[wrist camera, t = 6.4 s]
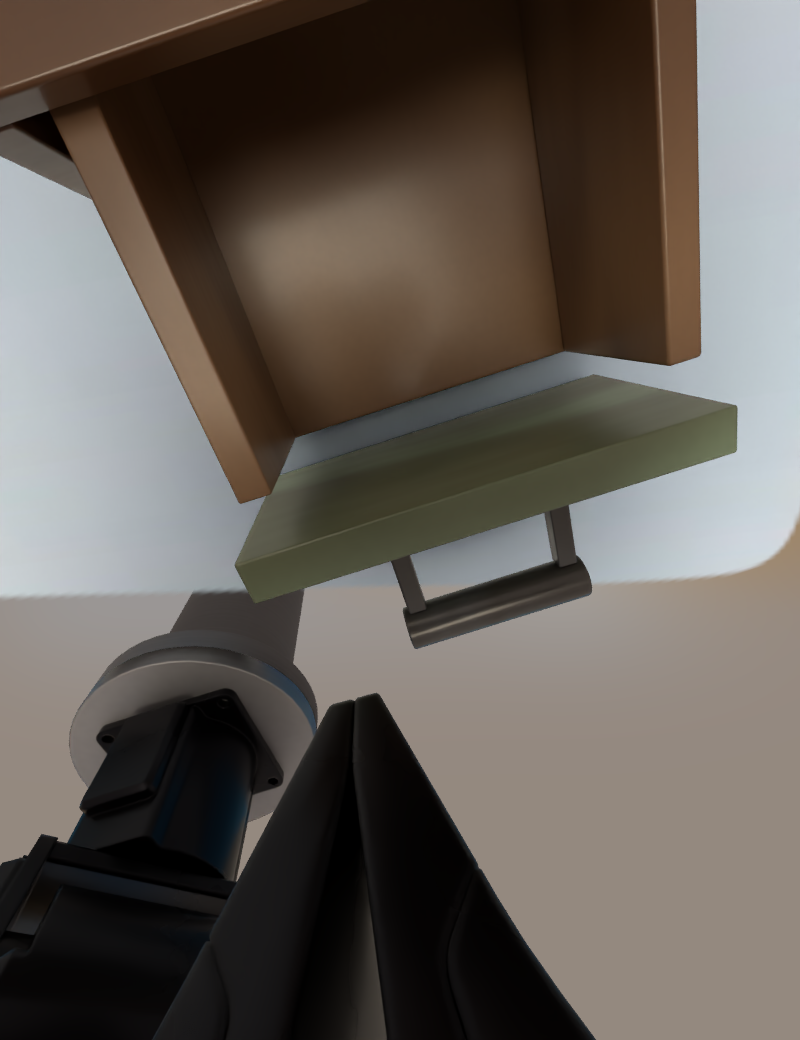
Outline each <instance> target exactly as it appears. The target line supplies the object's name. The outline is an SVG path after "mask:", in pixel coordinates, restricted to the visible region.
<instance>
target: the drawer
mask: <svg viewBox="0 0 800 1040" xmlns="http://www.w3.org/2000/svg"><path fill="white" fill-rule="evenodd" d="M49 112H50V114H51V116H52V118H53V120H54V122H55V124H56V126H57V128H58V130H59V132H60V134H61V136H62V138H63V141H64V143H65V145H66V147H67V149H68V151H69V153H70V155H71V157H72V159H73V161H74V163H75V165H76V167H77V169H78V172H79V174H80V176H81V178H82V180H83V182H84V184H85V186H86V188H87V190H88V192H89V194H90V196H91V198H92V200H93V202H94V205H95V207H96V209H97V211H98V213H99V215H100V217H101V219H102V221H103V223H104V225H105V227H106V229H107V231H108V233H109V236H110V238H111V240H112V242H113V244H114V246H115V248H116V250H117V252H118V254H119V256H120V258H121V260H122V262H123V264H124V266H125V269H126V271H127V273H128V275H129V277H130V279H131V281H132V283H133V285H134V287H135V289H136V291H137V293H138V295H139V297H140V300H141V302H142V304H143V306H144V308H145V310H146V312H147V314H148V316H149V318H150V320H151V322H152V324H153V326H154V328H155V330H156V333H157V335H158V337H159V339H160V341H161V343H162V345H163V347H164V349H165V351H166V353H167V355H168V357H169V359H170V361H171V363H172V366H173V368H174V370H175V372H176V374H177V376H178V378H179V380H180V382H181V384H182V386H183V388H184V390H185V392H186V394H187V397H188V399H189V401H190V403H191V405H192V407H193V409H194V411H195V413H196V415H197V417H198V419H199V421H200V423H201V425H202V427H203V430H204V432H205V434H206V436H207V438H208V440H209V442H210V444H211V446H212V448H213V450H214V452H215V454H216V456H217V458H218V461H219V463H220V465H221V467H222V469H223V471H224V473H225V475H226V477H227V479H228V481H229V483H230V485H231V487H232V489H233V491H234V494H235V496H236V498H237V500H238V502H239V503H240V504H242V503H245V502H248V501H251V500H254V499H258V498H261V497H264V496H266V497H265V499H264V502H263V504H262V506H261V508H260V510H259V513H258V515H257V517H256V519H255V521H254V524H253V526H252V528H251V530H250V532H249V535H248V537H247V539H246V541H245V543H244V545H243V548H242V550H241V552H240V554H239V556H238V559H237V561H236V563H235V568H236V570H237V571H238V573H239V575H240V577H241V579H242V581H243V583H244V585H245V587H246V589H247V591H248V593H249V594H250V596H251V598H252V600H253V602H254V603H259V602H262V601H266V600H269V599H272V598H275V597H278V596H281V595H285V594H288V593H291V592H294V591H297V590H300V589H304V588H307V587H310V586H313V585H316V584H319V583H323V582H326V581H329V580H332V579H335V578H338V577H342V576H345V575H348V574H351V573H354V572H357V571H361V570H364V569H367V568H370V567H373V566H376V565H380V564H383V563H386V562H389V561H391V563H392V566H393V569H394V571H395V574H396V577H397V580H398V583H399V586H400V588H401V591H402V594H403V597H404V600H405V602H406V606H407V607H405V608H403V614H404V618H405V622H406V626H407V629H408V632H409V636H410V638H411V641H412V644H413V646H414V648H415V649H418V648H421V647H425V646H428V645H431V644H434V643H437V642H440V641H444V640H447V639H450V638H454V637H457V636H460V635H463V634H466V633H470V632H473V631H476V630H479V629H482V628H486V627H489V626H492V625H495V624H499V623H501V622H505V621H508V620H511V619H515V618H518V617H521V616H524V615H527V614H530V613H534V612H537V611H540V610H543V609H547V608H550V607H553V606H556V605H560V604H563V603H566V602H569V601H572V600H576V599H579V598H582V597H585V596H589V595H590V594H591V593H592V584H591V579H590V576H589V573H588V571H587V569H586V567H585V565H584V563H583V562H582V560H581V559H580V558H579V557H578V556H577V555H576V552H575V546H574V539H573V532H572V526H571V519H570V513H569V506H568V505H570V504H573V503H576V502H579V501H583V500H586V499H589V498H592V497H595V496H598V495H602V494H605V493H608V492H611V491H614V490H617V489H621V488H624V487H627V486H630V485H633V484H636V483H640V482H643V481H646V480H649V479H652V478H655V477H659V476H662V475H665V474H668V473H671V472H675V471H678V470H681V469H684V468H687V467H690V466H694V465H697V464H700V463H703V462H706V461H709V460H713V459H716V458H719V457H722V456H725V455H728V454H732V453H735V452H736V450H737V406H736V405H732V404H727V403H722V402H718V401H713V400H709V399H704V398H700V397H695V396H690V395H686V394H681V393H677V392H672V391H668V390H663V389H658V388H654V387H649V386H645V385H640V384H635V383H631V382H626V381H622V380H617V379H613V378H608V377H603V376H599V375H594V374H593V375H590V376H587V377H584V378H581V379H578V380H575V381H572V382H569V383H565V384H562V385H559V386H556V387H553V388H550V389H547V390H544V391H540V392H537V393H534V394H531V395H528V396H525V397H522V398H519V399H516V400H512V401H509V402H506V403H503V404H500V405H497V406H494V407H491V408H487V409H484V410H481V411H478V412H475V413H472V414H469V415H466V416H463V417H459V418H456V419H453V420H450V421H447V422H444V423H441V424H438V425H435V426H431V427H428V428H425V429H422V430H419V431H416V432H413V433H410V434H406V435H403V436H400V437H397V438H394V439H391V440H388V441H385V442H382V443H378V444H375V445H372V446H369V447H366V448H363V449H360V450H357V451H353V452H350V453H347V454H344V455H341V456H338V457H335V458H332V459H329V460H325V461H322V462H319V463H316V464H313V465H310V466H307V467H304V468H301V469H297V470H294V471H291V472H288V473H285V474H282V475H280V473H281V470H282V468H283V466H284V464H285V461H286V459H287V457H288V454H289V452H290V450H291V447H292V445H293V443H294V440H295V438H297V437H300V436H303V435H306V434H309V433H312V432H315V431H318V430H321V429H325V428H328V427H331V426H334V425H337V424H340V423H343V422H346V421H349V420H352V419H356V418H359V417H362V416H365V415H368V414H371V413H374V412H377V411H380V410H383V409H387V408H390V407H393V406H396V405H399V404H402V403H405V402H408V401H411V400H414V399H418V398H421V397H424V396H427V395H430V394H433V393H436V392H439V391H442V390H446V389H449V388H452V387H455V386H458V385H461V384H464V383H467V382H470V381H473V380H477V379H480V378H483V377H486V376H489V375H492V374H495V373H498V372H501V371H504V370H508V369H511V368H514V367H517V366H520V365H523V364H526V363H529V362H532V361H535V360H539V359H542V358H545V357H548V356H551V355H554V354H557V353H560V352H563V351H567V352H574V353H581V354H588V355H596V356H603V357H610V358H617V359H624V360H631V361H638V362H645V363H652V364H659V365H666V366H671V365H675V364H678V363H681V362H684V361H687V360H690V359H693V358H696V357H698V356H700V354H701V314H700V243H699V172H698V101H697V30H696V0H371V1H368V2H365V3H362V4H359V5H356V6H354V7H351V8H348V9H345V10H342V11H339V12H336V13H333V14H330V15H327V16H324V17H321V18H318V19H315V20H312V21H310V22H307V23H304V24H301V25H298V26H295V27H292V28H289V29H286V30H283V31H280V32H277V33H274V34H271V35H269V36H266V37H263V38H260V39H257V40H254V41H251V42H248V43H245V44H242V45H239V46H236V47H233V48H230V49H227V50H225V51H222V52H219V53H216V54H213V55H210V56H207V57H204V58H201V59H198V60H195V61H192V62H189V63H186V64H184V65H181V66H178V67H175V68H172V69H169V70H166V71H163V72H160V73H157V74H154V75H151V76H148V77H145V78H142V79H140V80H137V81H134V82H131V83H128V84H125V85H122V86H119V87H116V88H113V89H110V90H107V91H104V92H101V93H98V94H96V95H93V96H90V97H87V98H84V99H81V100H78V101H75V102H72V103H69V104H66V105H63V106H60V107H57V108H55V109H52V110H49ZM541 513H544V514H545V520H546V525H547V531H548V537H549V542H550V548H551V554H552V559H553V560H554V561H551V562H548V563H545V564H542V565H539V566H535V567H532V568H529V569H526V570H523V571H519V572H516V573H513V574H510V575H507V576H503V577H500V578H497V579H494V580H491V581H487V582H484V583H481V584H478V585H475V586H472V587H468V588H465V589H462V590H459V591H456V592H453V593H449V594H446V595H443V596H440V597H437V598H433V599H430V600H427V601H425V599H424V596H423V593H422V590H421V587H420V584H419V581H418V578H417V575H416V571H415V568H414V565H413V562H412V559H411V556H410V555H411V554H415V553H418V552H421V551H424V550H427V549H430V548H434V547H437V546H440V545H443V544H446V543H449V542H453V541H456V540H459V539H462V538H465V537H468V536H472V535H475V534H478V533H481V532H484V531H487V530H491V529H494V528H497V527H500V526H503V525H506V524H510V523H513V522H516V521H519V520H522V519H526V518H529V517H532V516H535V515H538V514H541Z"/></svg>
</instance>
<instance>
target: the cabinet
mask: <svg viewBox="0 0 800 1040" xmlns="http://www.w3.org/2000/svg"><path fill="white" fill-rule="evenodd" d="M368 1H371V0H0V156H1V157H3V158H5V159H8V160H10V161H12V162H14V163H16V164H18V165H20V166H22V167H24V168H27V169H29V170H31V171H33V172H35V173H37V174H39V175H41V176H43V177H45V178H48V179H50V180H52V181H54V182H56V183H58V184H60V185H62V186H64V187H67V188H69V189H71V190H73V191H75V192H77V193H79V194H81V195H83V196H85V197H88V198H90V199H92V198H91V196H90V194H89V192H88V190H87V188H86V186H85V184H84V182H83V180H82V178H81V176H80V174H79V172H78V169H77V167H76V165H75V163H74V161H73V159H72V157H71V155H70V153H69V151H68V149H67V147H66V145H65V143H64V141H63V138H62V136H61V134H60V132H59V130H58V128H57V126H56V124H55V122H54V120H53V118H52V116H51V114H50V112H49V110H52V109H55V108H57V107H60V106H63V105H66V104H69V103H72V102H75V101H78V100H81V99H84V98H87V97H90V96H93V95H96V94H98V93H101V92H104V91H107V90H110V89H113V88H116V87H119V86H122V85H125V84H128V83H131V82H134V81H137V80H140V79H142V78H145V77H148V76H151V75H154V74H157V73H160V72H163V71H166V70H169V69H172V68H175V67H178V66H181V65H184V64H186V63H189V62H192V61H195V60H198V59H201V58H204V57H207V56H210V55H213V54H216V53H219V52H222V51H225V50H227V49H230V48H233V47H236V46H239V45H242V44H245V43H248V42H251V41H254V40H257V39H260V38H263V37H266V36H269V35H271V34H274V33H277V32H280V31H283V30H286V29H289V28H292V27H295V26H298V25H301V24H304V23H307V22H310V21H312V20H315V19H318V18H321V17H324V16H327V15H330V14H333V13H336V12H339V11H342V10H345V9H348V8H351V7H354V6H356V5H359V4H362V3H365V2H368Z"/></svg>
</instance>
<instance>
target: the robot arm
mask: <svg viewBox="0 0 800 1040" xmlns="http://www.w3.org/2000/svg"><path fill="white" fill-rule="evenodd" d="M222 699H227V700H228V701H224V700H222ZM96 741H97V743H98V744H99V745H100V746H101V747H102V749H103V750H104V751H105V752H106V753H107V755H106V757H105V759H104V761H103V763H102V764H101V766H100V768H99V770H98V772H97V773H96V775H95V777H94V779H93V781H92V782H91V784H90V786H89V788H88V790H87V792H86V793H85V795H84V797H83V799H82V801H81V804H80V807H79V808H80V810H81V811H82V812H83V814H82V816H81V818H80V820H79V822H78V824H77V826H76V827H75V829H74V831H73V833H72V835H71V837H70V839H69V841H68V843H64V842H59V841H57V840H58V838H57V837H52V836H48V835H44V834H41V836H40V837H39V839H38V841H37V842H36V844H35V845H34V847H33V849H32V850H31V852H30V853H29V855H28V856H26V855H24V856H23V858H19V859H15V860H12V861H8V862H4V863H2V864H1V866H0V1040H596V1039H595V1038H594V1036H593V1035H592V1034H591V1032H590V1031H589V1030H588V1028H587V1027H586V1026H585V1024H584V1023H583V1022H582V1020H581V1019H580V1018H579V1016H578V1015H577V1013H576V1012H575V1011H574V1010H573V1008H572V1007H571V1005H570V1004H569V1003H568V1001H567V1000H566V999H565V997H564V996H563V995H562V994H561V992H560V990H559V989H558V988H557V986H556V985H555V983H554V982H553V981H552V979H551V978H550V976H549V975H548V973H547V972H546V971H545V969H544V968H543V966H542V965H541V963H540V962H539V961H538V959H537V958H536V956H535V955H534V954H533V952H532V951H531V949H530V948H529V946H528V945H527V944H526V942H525V941H524V939H523V937H522V936H521V934H520V933H519V931H518V929H517V928H516V926H515V925H514V923H513V922H512V920H511V918H510V917H509V915H508V913H507V912H506V910H505V909H504V907H503V905H502V904H501V902H500V901H499V899H498V897H497V895H496V894H495V892H494V891H493V889H492V887H491V885H490V883H489V882H488V880H487V878H486V877H485V875H484V873H483V871H482V870H481V869H479V867H478V864H477V862H476V860H475V858H474V856H473V855H472V853H471V851H470V850H469V848H468V846H467V844H466V843H465V841H464V839H463V837H462V836H461V834H460V832H459V831H458V829H457V827H456V825H455V824H454V822H453V820H452V819H451V817H450V815H449V814H448V812H447V810H446V808H445V807H444V805H443V803H442V801H441V800H440V798H439V796H438V795H437V793H436V791H435V789H434V788H433V786H432V785H431V782H430V781H429V779H428V777H427V776H426V774H425V772H424V770H423V769H422V767H421V765H420V763H419V762H418V760H417V759H416V757H415V755H414V753H413V751H412V750H411V748H410V746H409V745H408V743H407V741H406V739H405V738H404V736H403V734H402V733H401V731H400V729H399V728H398V726H397V724H396V722H395V720H394V719H393V717H392V715H391V714H390V712H389V710H388V708H387V707H386V705H385V703H384V702H383V700H382V698H381V696H380V695H379V694H377V693H374V694H370V695H366V696H362V697H359V698H357V699H356V701H353V700H347V701H344V702H340V703H336V704H333V705H331V706H330V707H329V709H328V710H327V712H326V714H325V716H324V718H323V720H322V722H321V723H320V725H319V727H318V729H317V731H316V733H315V735H314V737H313V739H312V741H311V742H310V744H309V746H308V748H307V750H306V752H305V754H304V756H303V758H302V760H301V761H300V763H299V765H298V767H297V769H296V771H295V773H294V775H293V777H292V778H291V780H290V782H289V784H288V786H287V788H286V790H285V792H284V794H283V796H282V797H281V799H280V801H279V803H278V805H277V807H276V809H275V811H274V813H273V815H272V816H271V818H270V820H269V822H268V824H267V826H266V828H265V830H264V832H263V834H262V836H261V837H260V839H259V841H258V843H257V845H256V847H255V849H254V851H253V853H252V854H251V856H250V858H249V860H248V862H247V864H246V866H245V868H244V870H243V871H242V873H241V875H240V877H239V879H238V881H237V882H236V879H237V874H238V869H239V864H240V859H241V854H242V848H243V843H244V838H245V832H246V828H247V823H248V818H249V813H250V808H251V803H252V798H253V795H255V794H258V793H261V792H264V791H268V790H271V789H274V788H277V787H279V786H281V785H282V783H283V779H284V771H283V770H282V768H281V766H280V765H279V763H278V761H277V760H276V758H275V756H274V755H273V753H272V751H271V750H270V748H269V746H268V745H267V743H266V741H265V740H264V738H263V737H262V735H261V733H260V732H259V730H258V728H257V727H256V725H255V723H254V722H253V720H252V718H251V717H250V715H249V713H248V712H247V710H246V708H245V707H244V705H243V703H242V702H241V700H240V698H239V697H238V695H237V693H236V692H235V691H234V690H232V689H228V688H223V689H219V690H215V691H212V692H209V693H206V694H203V695H199V696H196V697H193V698H190V699H187V700H183V701H180V702H176V703H173V704H170V705H167V706H163V707H160V708H157V709H154V710H151V711H147V712H144V713H141V714H138V715H135V716H131V717H129V718H126V719H122V720H119V721H116V722H113V723H110V724H106V725H104V726H103V727H102V728H101V729H100V731H99V733H98V734H97V736H96Z"/></svg>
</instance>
